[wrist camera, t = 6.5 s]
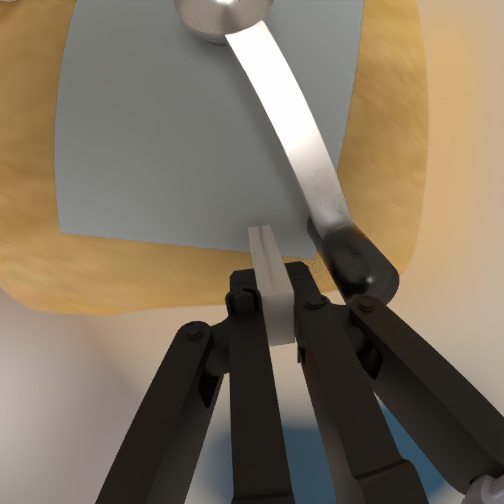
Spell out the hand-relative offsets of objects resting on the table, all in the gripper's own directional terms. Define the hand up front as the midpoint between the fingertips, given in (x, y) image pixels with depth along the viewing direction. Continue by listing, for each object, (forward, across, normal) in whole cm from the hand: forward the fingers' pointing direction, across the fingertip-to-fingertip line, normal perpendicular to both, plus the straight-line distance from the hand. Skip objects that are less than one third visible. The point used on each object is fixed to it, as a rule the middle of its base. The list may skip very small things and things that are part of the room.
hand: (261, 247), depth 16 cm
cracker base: (+3, -2, +12) cm, 13 cm away
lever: (+1, +1, +11) cm, 11 cm away
